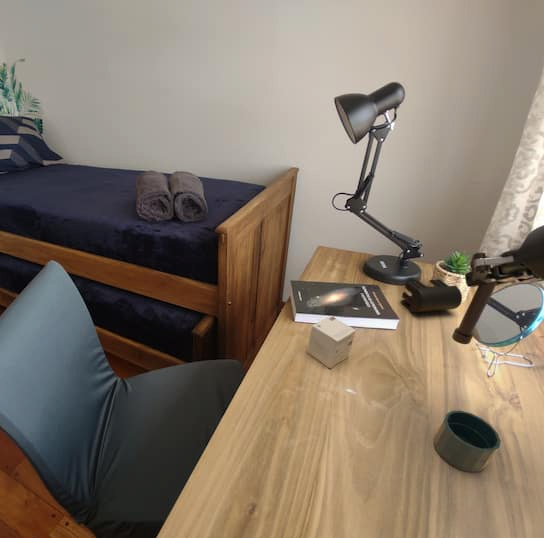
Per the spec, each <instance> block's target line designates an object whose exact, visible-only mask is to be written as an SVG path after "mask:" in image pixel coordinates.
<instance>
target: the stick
mask: <svg viewBox="0 0 544 538" xmlns="http://www.w3.org/2000/svg"><path fill="white" fill-rule="evenodd" d="M492 271H493V268H492ZM493 275H494V271H493ZM497 282H498V281H493V282H491V283H486V284H482V285H479V286H477V288H476V290H475V292H474V294H473V297H472V298H471V301H470V302H469V305H468V306H467V309H466V311H465V312H464V315H463V318H462V320H461V322H460V324H459V325H458V327H456V328H455V329H454V330H453V332H452V335H451V338H452V340H453V341H455V342H456V343H459V344H461V345H470V344H471V341H472V339H473V337H474V334H473V332H474V330H475V328H476V327H477V324H478V322H479V320H480V318H481V316H482V315H483V312H484V310H485V308H486V306H487V305H488V302H489V301H490V299H491V297H492V295H493V292H494V291H495V288H496V287H497V286H496V284H497Z"/></svg>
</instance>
